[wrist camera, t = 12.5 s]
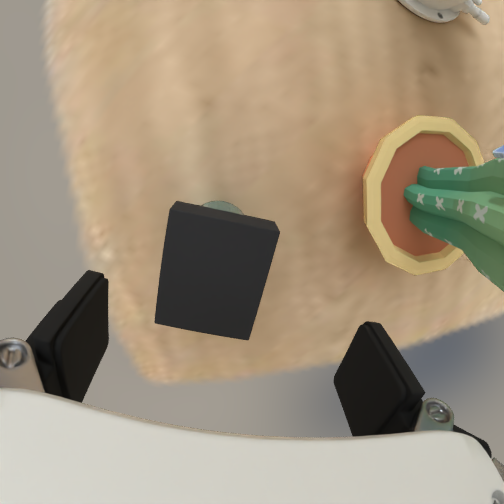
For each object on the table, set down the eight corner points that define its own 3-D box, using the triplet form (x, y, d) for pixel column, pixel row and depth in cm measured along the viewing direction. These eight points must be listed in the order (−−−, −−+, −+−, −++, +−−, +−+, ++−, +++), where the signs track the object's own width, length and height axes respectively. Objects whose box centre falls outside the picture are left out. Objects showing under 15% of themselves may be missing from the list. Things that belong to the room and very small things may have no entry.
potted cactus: (456, 138, 30) (632, 179, 7) (429, 254, 35) (569, 371, 12) (347, 98, 28) (560, 66, 5) (321, 238, 34) (456, 416, 10)
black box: (274, 221, 23) (280, 232, 21) (246, 322, 26) (248, 340, 24) (176, 200, 22) (169, 208, 20) (160, 306, 25) (154, 323, 23)
